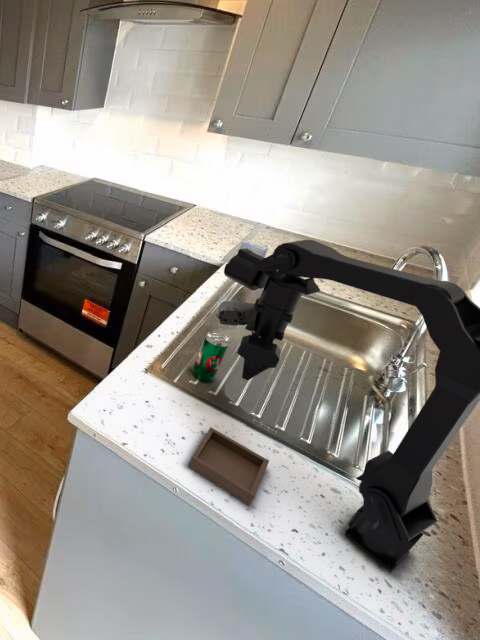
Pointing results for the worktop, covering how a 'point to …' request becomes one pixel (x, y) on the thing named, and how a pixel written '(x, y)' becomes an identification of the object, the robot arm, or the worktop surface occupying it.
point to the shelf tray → (229, 465)
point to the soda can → (210, 356)
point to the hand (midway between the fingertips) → (248, 367)
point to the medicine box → (254, 248)
